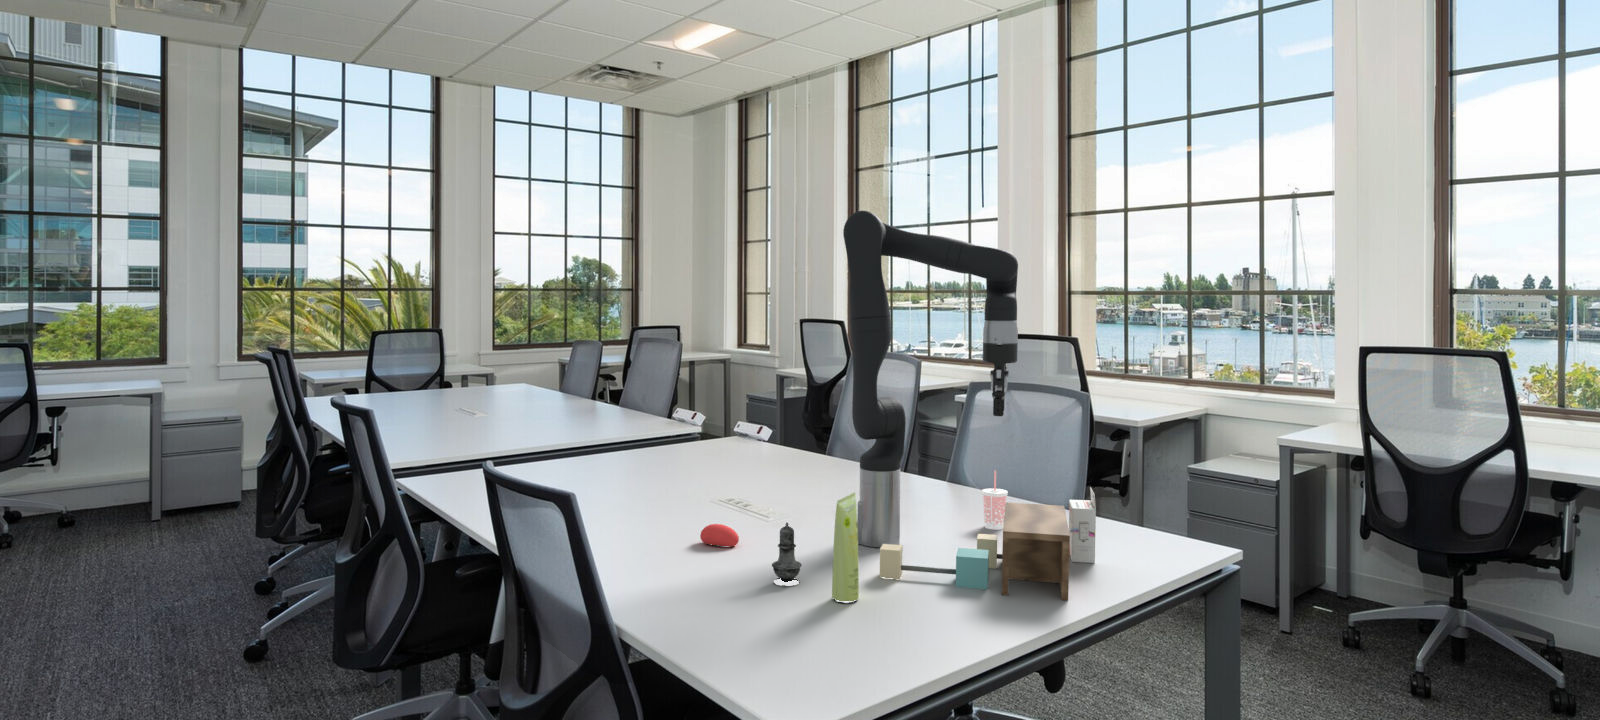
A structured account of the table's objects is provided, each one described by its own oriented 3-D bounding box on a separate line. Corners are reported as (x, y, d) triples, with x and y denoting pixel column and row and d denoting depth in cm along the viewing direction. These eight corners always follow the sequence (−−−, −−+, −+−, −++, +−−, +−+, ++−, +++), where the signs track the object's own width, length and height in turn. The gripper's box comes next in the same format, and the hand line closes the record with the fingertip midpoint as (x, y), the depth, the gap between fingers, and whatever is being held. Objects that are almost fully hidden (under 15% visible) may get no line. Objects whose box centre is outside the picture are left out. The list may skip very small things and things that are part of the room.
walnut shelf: (1001, 594, 166) (1002, 531, 165) (1004, 558, 189) (1005, 502, 188) (1068, 600, 163) (1069, 535, 162) (1062, 562, 186) (1064, 505, 185)
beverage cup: (1010, 526, 216) (1011, 469, 215) (1002, 531, 211) (1003, 473, 210) (986, 522, 219) (987, 467, 219) (977, 528, 214) (978, 471, 213)
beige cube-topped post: (976, 568, 182) (976, 539, 182) (977, 560, 188) (978, 532, 187) (1051, 574, 178) (1052, 545, 178) (1050, 565, 184) (1051, 537, 184)
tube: (863, 604, 160) (864, 498, 159) (836, 606, 159) (837, 499, 158) (854, 594, 166) (855, 491, 164) (828, 596, 165) (829, 493, 163)
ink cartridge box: (1067, 551, 195) (1068, 485, 194) (1090, 552, 194) (1092, 486, 193) (1070, 562, 187) (1072, 493, 186) (1095, 563, 186) (1097, 494, 185)
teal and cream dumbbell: (878, 580, 174) (879, 550, 174) (883, 571, 180) (883, 542, 179) (987, 589, 169) (987, 558, 169) (988, 579, 175) (988, 550, 174)
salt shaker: (779, 589, 168) (780, 527, 168) (766, 580, 174) (766, 520, 173) (806, 584, 171) (807, 523, 170) (793, 576, 176) (793, 517, 176)
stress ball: (718, 558, 193) (733, 533, 194) (691, 537, 198) (705, 512, 198) (731, 560, 198) (745, 535, 198) (704, 539, 203) (717, 515, 203)
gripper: (984, 339, 203) (983, 409, 204) (981, 342, 190) (980, 417, 191) (1017, 340, 201) (1016, 410, 203) (1017, 342, 188) (1015, 418, 189)
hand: (998, 413), depth 197 cm, fingers open, 8 cm apart
